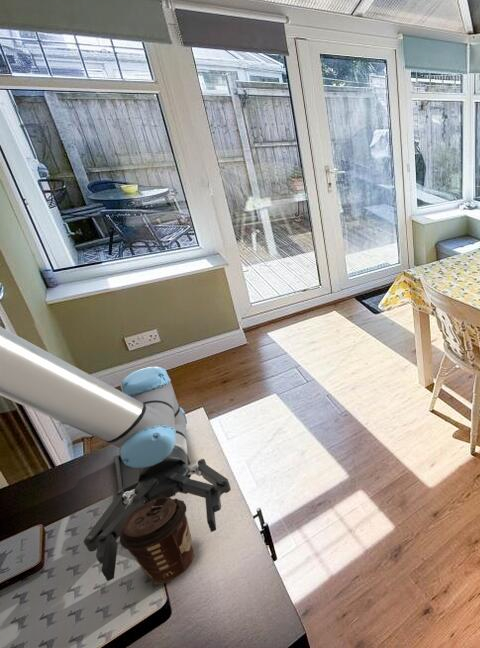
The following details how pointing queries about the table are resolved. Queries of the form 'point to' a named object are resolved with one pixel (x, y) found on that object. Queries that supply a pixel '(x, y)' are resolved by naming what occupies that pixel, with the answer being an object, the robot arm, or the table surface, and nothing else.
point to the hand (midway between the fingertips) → (162, 549)
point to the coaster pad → (128, 475)
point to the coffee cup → (159, 538)
